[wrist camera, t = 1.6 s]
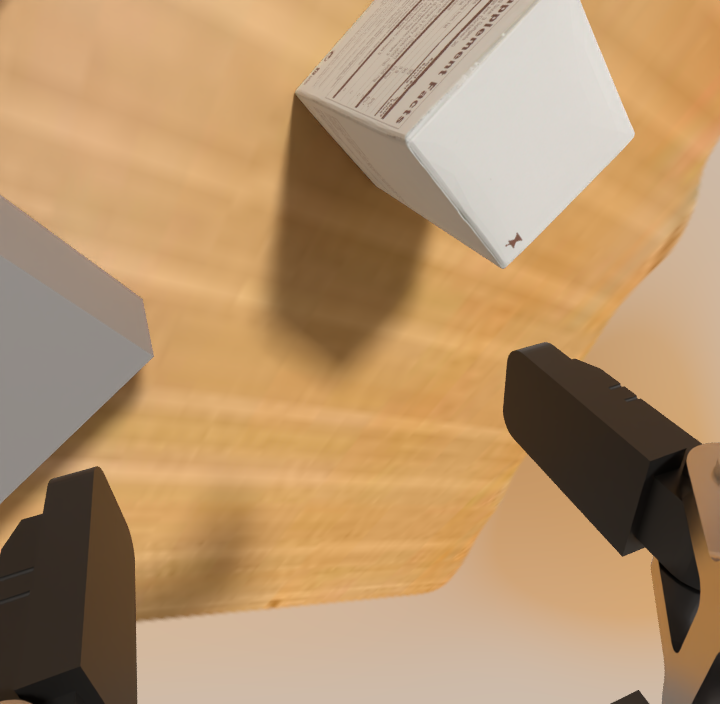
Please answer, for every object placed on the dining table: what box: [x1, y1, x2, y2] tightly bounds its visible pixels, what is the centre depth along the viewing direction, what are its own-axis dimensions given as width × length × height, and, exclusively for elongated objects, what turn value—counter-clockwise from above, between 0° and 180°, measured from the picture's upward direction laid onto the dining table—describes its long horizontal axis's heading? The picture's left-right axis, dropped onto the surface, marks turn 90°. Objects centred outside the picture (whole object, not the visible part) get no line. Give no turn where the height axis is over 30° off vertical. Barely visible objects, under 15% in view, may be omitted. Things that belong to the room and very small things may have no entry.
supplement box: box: [295, 0, 635, 269], centre depth 24 cm, size 7×7×13 cm
